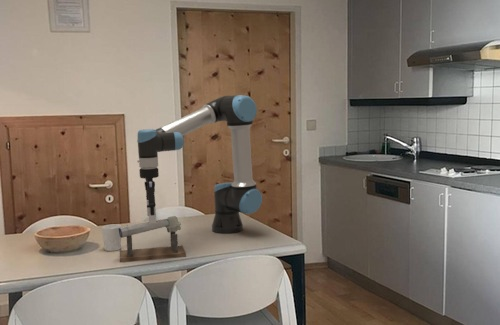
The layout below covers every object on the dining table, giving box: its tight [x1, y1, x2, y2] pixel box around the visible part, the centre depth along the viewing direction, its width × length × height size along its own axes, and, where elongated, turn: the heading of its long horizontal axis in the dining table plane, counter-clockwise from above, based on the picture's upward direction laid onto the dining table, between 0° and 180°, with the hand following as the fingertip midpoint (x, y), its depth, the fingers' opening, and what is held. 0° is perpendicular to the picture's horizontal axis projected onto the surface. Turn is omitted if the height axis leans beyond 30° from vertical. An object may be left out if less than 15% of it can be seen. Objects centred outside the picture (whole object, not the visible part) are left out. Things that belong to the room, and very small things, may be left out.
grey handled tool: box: [119, 215, 182, 239], centre depth 225 cm, size 5×7×25 cm
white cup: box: [101, 223, 122, 252], centre depth 236 cm, size 8×8×10 cm
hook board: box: [119, 231, 187, 263], centre depth 226 cm, size 26×12×9 cm, turn 103°
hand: (151, 219), depth 225 cm, fingers open, 13 cm apart
